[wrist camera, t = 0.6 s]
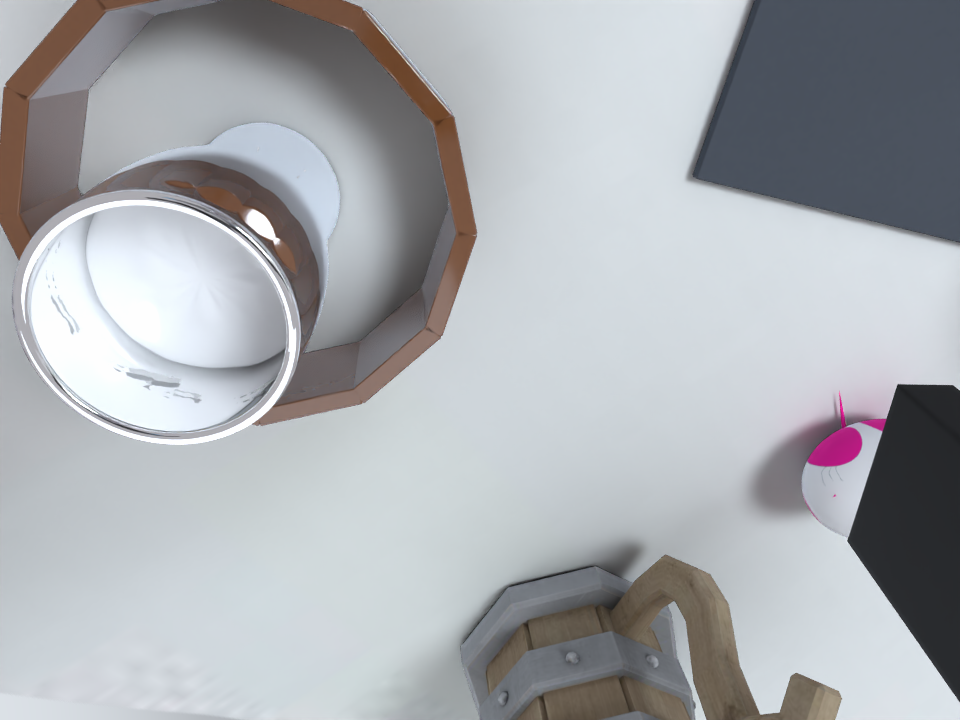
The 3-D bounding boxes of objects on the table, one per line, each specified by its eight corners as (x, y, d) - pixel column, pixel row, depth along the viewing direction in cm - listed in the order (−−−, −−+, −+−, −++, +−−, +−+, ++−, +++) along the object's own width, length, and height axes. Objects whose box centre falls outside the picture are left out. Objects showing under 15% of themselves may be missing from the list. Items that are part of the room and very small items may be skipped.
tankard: (590, 740, 47) (664, 1022, 34) (428, 683, 44) (440, 975, 30) (786, 530, 41) (973, 774, 28) (618, 442, 37) (740, 674, 24)
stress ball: (870, 374, 41) (935, 358, 34) (930, 506, 40) (1009, 514, 33) (747, 419, 41) (789, 411, 35) (803, 551, 40) (858, 569, 33)
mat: (691, 176, 32) (696, 178, 31) (823, -196, 26) (832, -200, 26) (1052, 263, 35) (1061, 267, 35) (1233, -46, 30) (1249, -48, 29)
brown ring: (-25, 181, 29) (-104, 208, 24) (251, -131, 25) (218, -165, 21) (281, 430, 35) (263, 489, 31) (536, 208, 32) (558, 238, 27)
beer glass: (346, 279, 32) (305, 459, 19) (188, 265, 31) (23, 445, 18) (354, 121, 29) (313, 199, 16) (180, 100, 28) (-25, 163, 15)
